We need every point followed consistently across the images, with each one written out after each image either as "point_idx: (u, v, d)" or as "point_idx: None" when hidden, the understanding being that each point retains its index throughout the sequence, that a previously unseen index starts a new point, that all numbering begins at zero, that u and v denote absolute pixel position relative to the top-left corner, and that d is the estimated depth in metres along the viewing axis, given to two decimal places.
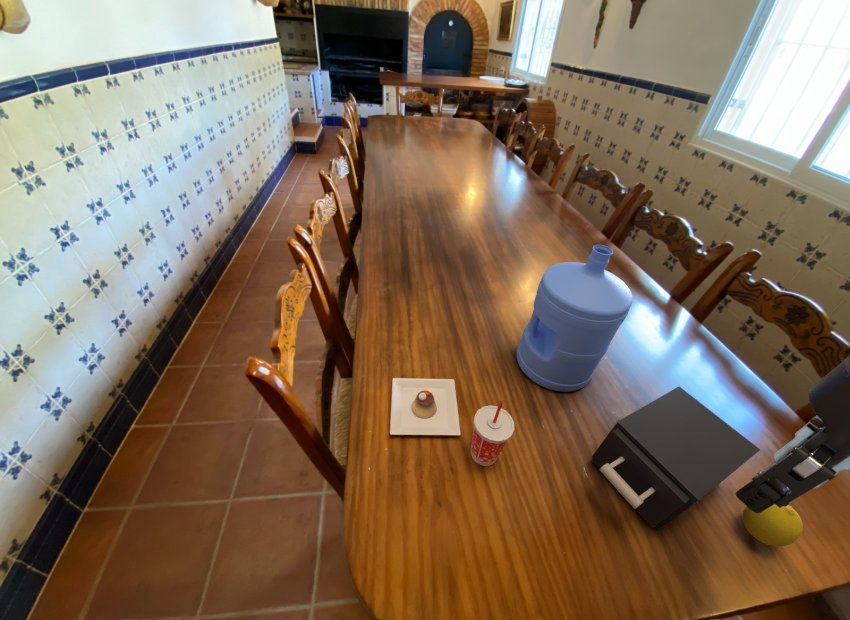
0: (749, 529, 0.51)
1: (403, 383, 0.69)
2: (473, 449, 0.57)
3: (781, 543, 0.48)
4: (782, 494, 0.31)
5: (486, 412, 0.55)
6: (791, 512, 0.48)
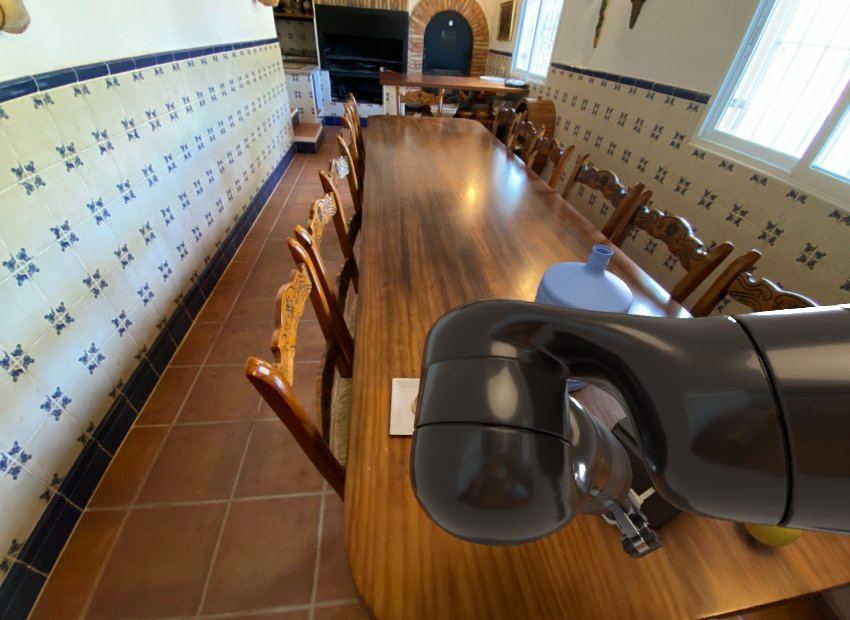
0: (749, 529, 0.51)
1: (403, 383, 0.69)
2: None
3: (781, 543, 0.48)
4: None
5: None
6: None
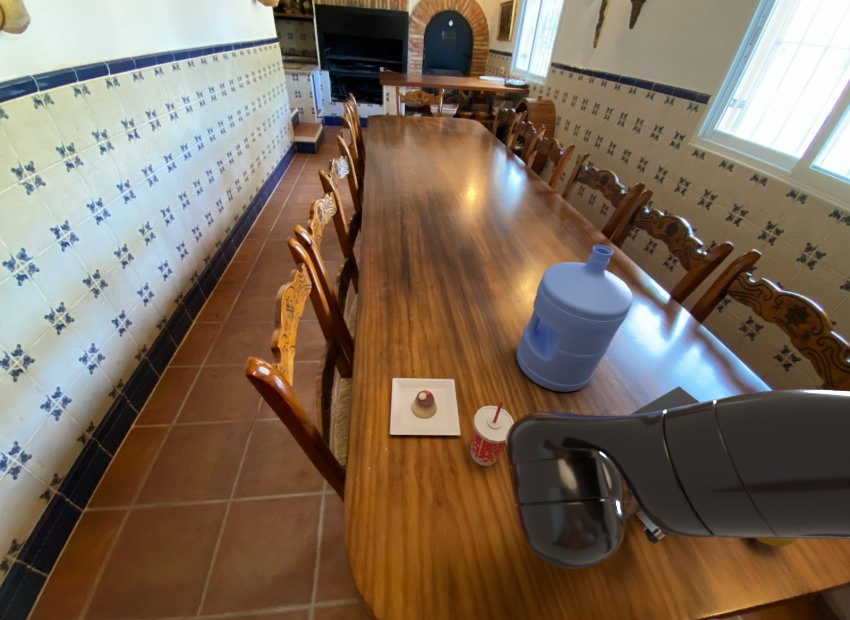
0: None
1: (403, 383, 0.69)
2: (473, 449, 0.57)
3: (781, 543, 0.48)
4: None
5: (486, 412, 0.55)
6: None
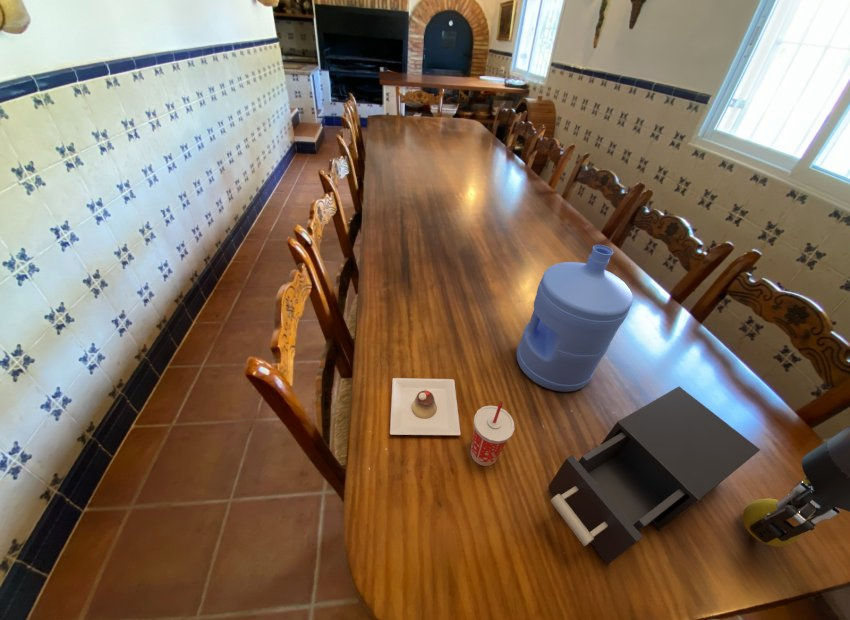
0: (749, 529, 0.51)
1: (403, 383, 0.69)
2: (473, 449, 0.57)
3: (781, 543, 0.48)
4: (783, 532, 0.44)
5: (486, 412, 0.55)
6: None
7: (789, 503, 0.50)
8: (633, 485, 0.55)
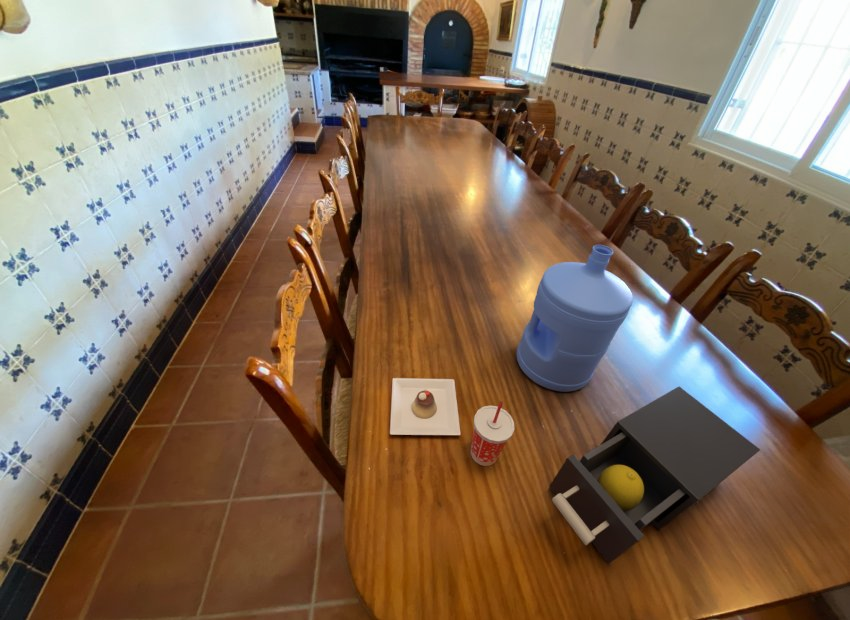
0: None
1: (403, 383, 0.69)
2: (473, 449, 0.57)
3: (623, 507, 0.48)
4: None
5: (486, 412, 0.55)
6: (631, 476, 0.48)
7: None
8: None
